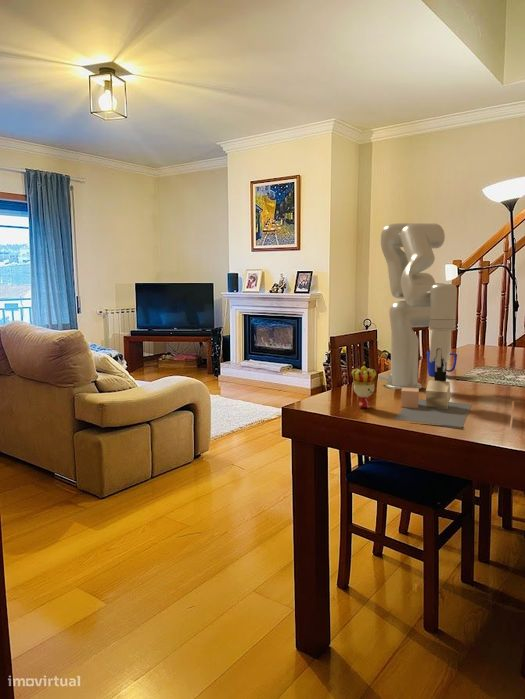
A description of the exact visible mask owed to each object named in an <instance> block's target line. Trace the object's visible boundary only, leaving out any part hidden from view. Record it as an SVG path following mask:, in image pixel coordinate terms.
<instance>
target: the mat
mask: <svg viewBox="0 0 525 699" xmlns="http://www.w3.org/2000/svg"><path fill="white" fill-rule="evenodd" d="M472 405H473V404H472V403H463V402H455V401H454V402H453V401H449V405H448V409H439V408H429V407H426V399H422V398H421V399H420V398H418V408H409V407H402V409H401V410H400V411H399V412H398V413H397V415H395V416H394V417H393V418H392V420H395V421H403V422H410V424H414V425H420V426H421V425H422V426H431V427H439V428H448V429H449V428H450V429H456V430H457V429H458V430H463V428H464V424H465V422H466V419H467V417H468V415H469V412H470V410H471V409H472V408H471V407H472Z"/></svg>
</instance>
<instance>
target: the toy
mask: <svg viewBox="0 0 525 699" xmlns="http://www.w3.org/2000/svg"><path fill="white" fill-rule="evenodd" d="M363 364H364V365H363V366H361V368H354V369H353V370H352V371H351V376H352V378H353V381H352V384H353V392H354V393H355V395H356V396H358V397H360V398H361V399H360V400H359V401H358V402H357V403H358V407H360V410H366V409H367V408H369V407H370V404H369V403H370V401H371V398H370V396H371V395H373V393H374V391H375V377H376V376H377V372H376V370H375V369H374V368H373V369H372V368H367V366H366V365H365V364H366V361H365V360H364V361H363Z"/></svg>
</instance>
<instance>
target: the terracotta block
mask: <svg viewBox="0 0 525 699" xmlns="http://www.w3.org/2000/svg"><path fill="white" fill-rule="evenodd" d="M419 391H420V389H419V388H402V390H400V393H401V394H400V407H401V408H404V407H409V408H418V399H419V394H420V392H419Z"/></svg>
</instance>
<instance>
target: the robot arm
mask: <svg viewBox="0 0 525 699" xmlns="http://www.w3.org/2000/svg"><path fill="white" fill-rule="evenodd" d="M445 235H446V234H445V231H444V229H443V226H442V225H440V224H438V223H417V222H416V223H408V222H407V223H401V222H400V223H391V224H390V223H389V224H388V225H386V226H384V227H383V228H382V230H381V233H380V247H381V251H382V254H383V257H384V259H385V261H386V264H387V274H388V279H389V288H390V294H391V295H392V297H393V298H395V299H403V300H399V301H395V302H394V303H392V304H391V305H390V307H389V310H388V312H389V321H390V322H389V323H390V330H391V338H390V339H391V340H390V343H391V348H390V373H389V374H379V375H378V379H379V380H380V381H386V383H385V387H386V388H388V389H391V390H400V391H401V390H402V388H419V390H421V389H422V386H423V385H422V384H421V383H419V382H418V376H419V375H418V372H419V368H418V367H419V345H420V344H419V341H420V340H419V337H418V335H417V333H416V332H415V331H414V330H413V328H426V327H427V328H428V330H429V331H431V337H430V348H429V351H430V362H431V363H432V362H433V361H434V360H435V377H434V381H447V371H446V362H447V363H448V361H450V359H451V355H450V353H451V348H452V347H451V346H452V331H456V324H457V323H456V322H457V320H456V319H457V318H456V317H457V300H458V299H457V297H458V288H457V286H456V285H455V284H453V283H444V282H442V283H439V282H438V283H436V281H435V278H434V277H433V275H432V274H430V273H427V272H423V271H425V270H427V269H429V268H430V267H431V266H433V264H434V262H435V259H436V258H435V254H434V250H433V249H440V248H441V247H442V246H443V244H444V242H445V239H446V236H445ZM402 248H403V250H402ZM445 371H446V372H445Z"/></svg>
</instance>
